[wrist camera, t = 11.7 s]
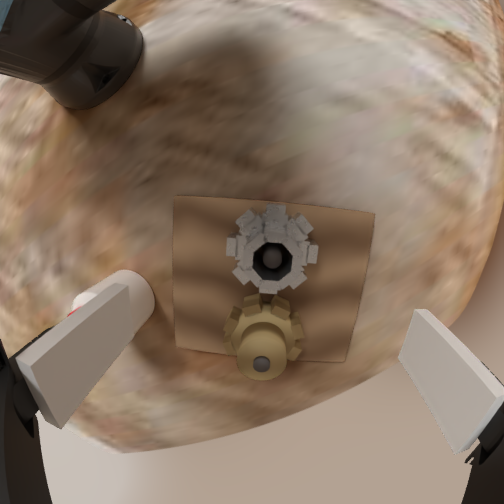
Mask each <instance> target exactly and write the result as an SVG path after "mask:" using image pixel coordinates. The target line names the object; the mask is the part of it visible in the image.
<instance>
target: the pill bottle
mask: <svg viewBox="0 0 504 504" xmlns="http://www.w3.org/2000/svg"><path fill="white" fill-rule="evenodd" d="M114 283H119V284H125V285H128V286H129V297H130V307H131V316H132V324H133V331H134V335H135V334H136V332H137V331H138V330H139V329H140V328H141V327H142V326H143V324H144V323H145V322H146V321H147V320H148V319H149V318H150V316H151V315H152V313H153V311H154V307H155V299H154V294H153V291H152V289H151V287H150V285H149V284H148V283H147V281H146V280H145V279H144V278H143V277H142V276H141V275H139V274H138V273H136V272H134V271H131V270H118V271H116V272H114V273H112V274H111V275H109V276H107V277H106V278H104V279H103V280H101V281H99V282H98V283H96V284H94V285H93V286H91V287H90V288H88V289H86V290H85V291H83V292H82V293H80V294H79V295H78V296H77V297H76V298H75V299H74V301H73V304H72V309H71V313H70V314H69V315H71V314H72V313H73V312H75V311H76V310H77V309H79V308H80V307H81V306H83V305H84V304H86V303H87V302H88V301H90V300H91V299H92V298H94V297H95V296H97V295H98V294H99V293H101V292H102V291H104V290H105V289H107V288H108V287H109V286H111V285H112V284H114ZM69 315H68V316H69ZM68 316H67V317H68Z"/></svg>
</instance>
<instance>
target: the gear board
mask: <svg viewBox="0 0 504 504" xmlns="http://www.w3.org/2000/svg"><path fill="white" fill-rule="evenodd" d="M267 202H271V203H283V204H285V205H286V211H285V212H286V213H287V214H288V216H289V215H291V216H292V217H293V216H294V215H295V214H296V213H297V212H300V213H301V214H302V215H303V216H304V217H305V218H306V220H307V221H308V222H309V223H310V225H311V226H312V227H313V228H314V229H313V230H312V231H311V232H309V233H308V234H307V236H308V239H311V240H314V241H315V242H316V243H317V244H318V246H319V247H318V254H317V262H316V264H314V263H307V266H303V267H304V270H305V273H306V276H307V278H308V279H306V280H305V281H304V282H302V283H301V284H300V285H299V286H297V287H296V288H295V289H292V287H291V286H290V285H288V286H287V287H285V288H284V289H283V290H282V289H281V290H277V294H268V293H259V287H256V286H255V285H254V284H253V282H252V281H251V280H250V281H248V282H247V283H246V284H245V285H243V284H242V283H241V282H240V280H239V279H238V278H237V277H236V276H235V275H234V274H233V273H232V270H233V268H234V266H235V264H236V263H237V262H238V260H235V257H234V256H226V246H227V237H228V236H229V235H230V233H231V232H232V233H238V232H239V230H240V227H239V226H238V225H237V224H236V223H235V221H236V220H237V219H238V218H239V217H240V216H242V215H243V214H244V213H245V212H246V211H247V210H249V209H250V208H251V207H252V208H253V210H254V211H255V212H256V213H258V212H260V213H261V214H262V215H263V210H264V211H266V206H267ZM374 218H375V214H373V213H369V212H362V211H355V210H347V209H339V208H331V207H323V206H314V205H305V204H295V203H285V202H274V201H262V200H250V199H236V198H221V197H204V196H183V195H177V196H174V211H173V305H174V327H175V343H176V347H180V348H186V349H192V350H198V351H205V352H212V353H219V354H227V355H228V356H229V355H236V356H237V366H238V368H239V370H240V371H241V372H242V373H243V374H244V375H245V376H247V377H248V378H251V379H253V380H259V381H266V380H271V379H274V378H276V377H278V376H279V375H280V374H281V373H282V372H283V371H284V370H285V368H286V364H287V360H291V361H294V360H297V361H325V362H344V361H345V358H346V354H347V351H348V347H349V344H350V340H351V336H352V332H353V329H354V325H355V321H356V317H357V312H358V308H359V304H360V299H361V295H362V290H363V285H364V280H365V275H366V270H367V264H368V259H369V253H370V247H371V240H372V233H373V226H374ZM257 250H258V251H259V252H260V254H261V255H262V256H263V262H264V264H265V265H266V266H267V267H269V268H277V267H278V266H279V265H280V264H281V262H282V255H283V254H284V253H285V252H286V251H287V248H286V247H285V246H284V245H283V243H272V242H265V243H264V244H263V245H262V246H261V247H259V248H258V249H257Z"/></svg>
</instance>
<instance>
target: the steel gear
mask: <svg viewBox="0 0 504 504" xmlns="http://www.w3.org/2000/svg"><path fill="white" fill-rule="evenodd" d="M285 211H286V205H285V204H283V203H271V202H267V206H266V211H264V210H263V215H262V214H261V213H260V212H258V213H256V212H255V211H254V210H253V208H252V207H251V208H250V209H249V210H247V211H246V212H245V213H244V214H243V215H242V216H240V217H239V218H238V219H237V220H236V221H235V223H236V224H237V225H238V226H239V227H240V230H239V232H238V233H232V232H231V233H230V235H229V236H228V237H227V246H226V256H234V257H235V260H238V262H237V263H236V264H235V266H234V268H233V270H232V273H233V274H234V275H235V276H236V277H237V278H238V279H239V280H240V282H241V283H242V284H243V285H245V284H246V283H247V282H248V281H250V280H251V281H252V282H253V284H254V285H255V286H256V287H259V293H268V294H277V290H281V289H282V290H283V289H284V288H285V287H287V286H288V285H290V286H291V287H292V289H295V288H296V287H297V286H299V285H300V284H301V283H302V282H304V281H305V280H306V279H308V278H307V276H306V273H305V270H304V267H303V266H307V263H314V264H316V262H317V254H318V247H319V246H318V244H317V243H316V242H315V241H314V240H311V239H308V236H307V234H308V233H309V232H311V231H312V230H313V229H314V228H313V227H312V226H311V225H310V223H309V222H308V221H307V220H306V218H305V217H304V216H303V215H302V214H301V213H300V212H297V213H296V214H295V215H294V216H293V217H292V216H291V215H289V216H288V214H287V213H286V212H285ZM265 242H272V243H283V245H284V246H285V247H286V248H287V251H286V252H285V253H284V254H283V255H282V262H281V264H280V265H279V266H278V267H277V268H269V267H267V266H266V265H265V264H264V262H263V256H262V255H261V254H260V252H259V251H258V250H257V249H258V248H259V247H261V246H262V245H263V244H264V243H265Z"/></svg>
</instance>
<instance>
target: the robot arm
mask: <svg viewBox="0 0 504 504" xmlns="http://www.w3.org/2000/svg"><path fill="white" fill-rule="evenodd" d="M115 1H116V0H0V74H3V75H7V76H11V77H15V78H19V79H22V80H26V81H30V82H34V83H37V84H40V85H41V86H42V87H43V88H44V89H45V90H46V91H47V92H48V93H49V94H50V95H51V96H52V97H53V98H54V99H55V100H56V101H57V102H58V103H59V104H61V105H63V106H65V107H68V108H72V109H76V110H84V109H88V108H91V107H94V106H96V105H98V104H100V103H102V102H103V101H105V100H106V99H108V98H109V97H110V96H112V95H113V94H114V93H115V92H116V91H117V90H118V89H119V88H120V87H121V86H122V85H123V84H124V83H125V81H126V80H127V79H128V77H129V76H130V74H131V73H132V71H133V70H134V68H135V66H136V64H137V62H138V60H139V57H140V54H141V50H142V35H141V32H140V30H139V28H138V27H137V26H136V25H135V24H134V23H133V22H132V21H131V20H130V19H128V18H127V17H125V16H122V15H118V14H115V13H112V12H108V11H105V10H102V9H104V8H105V7H107V6H108V5H110V4H111V3H113V2H115ZM133 338H134V331H133V324H132V316H131V307H130V297H129V286H128V285H125V284H119V283H114V284H112V285H111V286H109V287H108V288H107V289H105V290H104V291H102V292H101V293H99V294H98V295H97V296H95V297H94V298H92V299H91V300H90V301H88V302H87V303H86V304H84V305H83V306H81V307H80V308H79V309H77V310H76V311H75V312H73V313H72V314H71V315H69V316H68V317H67V318H65V319H64V320H63V321H61V322H60V323H59V324H57V325H55V326H53V327H51V328H48V329H46V330H45V331H43V332H42V333H41V334H40V335H38V337H36V338H34V339H33V340H32V342H29V343H28V344H27V345H25V346H24V347H23V348H22V349H20V350H19V351H18V352H17V353H15V354H14V355H13V356H12V357H11V358H9V359H8V357H7V355H6V352H5V350H4V347H3V344H2V341H1V339H0V504H52V500H51V496H50V493H49V489H48V484H47V480H46V475H45V471H44V465H43V459H42V453H41V445H40V437H39V427H38V420H37V417H36V415H35V414H36V413H37V411H38V410H40V412H41V414H42V415H43V417H44V419H45V421H47V422H48V423H50V424H52V425H54V426H56V427H57V428H59V429H62V428H63V426H64V425H65V424H66V422H67V421H68V420H69V418H70V417H71V416H72V414H73V413H74V412H75V410H76V409H77V408H78V407H79V405H80V404H81V403H82V401H83V400H84V399H85V397H86V396H87V395H88V394H89V392H90V391H91V390H92V389H93V387H94V386H95V385H96V383H97V382H98V381H99V380H100V378H101V377H102V376H103V375H104V373H105V372H106V371H107V370H108V368H109V367H110V366H111V365H112V363H113V362H114V361H115V360H116V358H117V357H118V356H119V355H120V354H121V352H122V351H123V350H124V349H125V347H126V346H127V345H128V344H129V343H130V341H131V340H132V339H133ZM398 359H399V360H400V362H401V364H402V365H403V367H404V368H405V370H406V371H407V373H408V375H409V376H410V378H411V379H412V381H413V383H414V384H415V386H416V388H417V389H418V391H419V392H420V394H421V396H422V397H423V399H424V401H425V402H426V404H427V406H428V407H429V409H430V411H431V413H432V414H433V416H434V418H435V420H436V421H437V423H438V425H439V427H440V429H441V430H442V432H443V434H444V436H445V438H446V440H447V442H448V443H449V445H450V447H451V449H452V451H453V453H454V454H458V453H460V452H463V451H465V450H467V449H469V448H470V447H471V445H472V444H473V443H474V442H475V440H476V439H477V438H478V439H479V441H480V444H479V445H478V446H477V447H476V448H475V450H474V451H473V452H472V453H471V454H470V455H469V456H468V458H467V459H466V460H465V463H467V462H468V461H469V460H470V459H471V458H472V457H474V459H473V460H472V461H471V463H470V464H471V465H472V469H471V473H470V477H469V480H468V485H467V487H466V491H465V494H464V497H463V500H462V503H461V504H504V385H503V384H502V383H501V382H500V381H499V380H498V378H497V377H495V376H494V374H493V373H492V372H491V371H489V369H488V368H487V367H486V366H485V364H484V363H483V362H481V361H480V360H479V359H478V358H477V357H476V356H475V355H474V354H473V353H472V352H471V351H470V350H469V349H468V348H467V347H466V346H465V345H464V344H463V343H462V342H461V341H460V340H459V339H458V338H457V337H456V336H455V335H454V334H453V333H452V332H450V330H448V329H447V328H446V327H445V326H444V325H443V324H442V323H441V322H440V321H439V320H438V319H437V318H436V317H435V316H434V315H433V314H431V313H430V312H429V311H428V310H427V309H414V312H413V316H412V319H411V322H410V325H409V328H408V331H407V334H406V337H405V340H404V343H403V346H402V348H401V351H400V354H399V356H398Z"/></svg>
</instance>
